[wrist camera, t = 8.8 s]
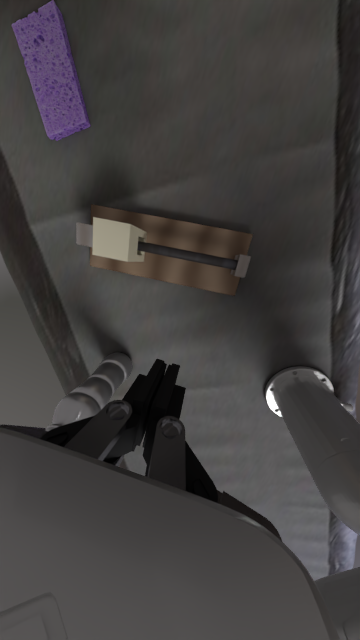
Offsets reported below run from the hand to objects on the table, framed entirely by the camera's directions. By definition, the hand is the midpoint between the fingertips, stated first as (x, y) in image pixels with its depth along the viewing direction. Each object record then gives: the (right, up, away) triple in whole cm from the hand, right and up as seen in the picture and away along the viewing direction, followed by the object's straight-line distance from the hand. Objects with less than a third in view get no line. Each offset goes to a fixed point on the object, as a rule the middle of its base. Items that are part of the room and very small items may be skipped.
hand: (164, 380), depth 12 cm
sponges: (-17, +40, +15) cm, 46 cm away
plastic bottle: (-12, -5, +29) cm, 32 cm away
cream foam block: (-7, +17, +18) cm, 25 cm away
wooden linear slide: (-1, +16, +20) cm, 26 cm away
